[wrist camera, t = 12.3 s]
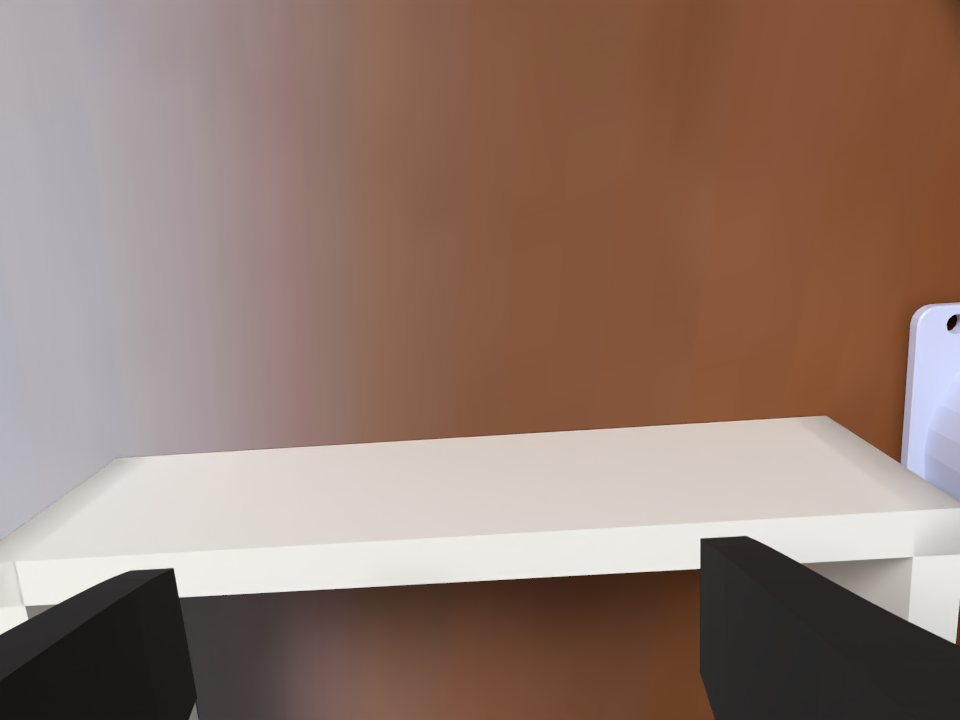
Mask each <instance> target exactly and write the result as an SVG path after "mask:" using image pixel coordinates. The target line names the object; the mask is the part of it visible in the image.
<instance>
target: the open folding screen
mask: <svg viewBox="0 0 960 720" xmlns="http://www.w3.org/2000/svg"><path fill="white" fill-rule="evenodd" d="M735 536H748V537H750V538H752V539H755V540H757V541H759V542H761V543H763V544H765V545H767V546H769V547H771V548H773V549H775V550H777V551H779V552H780V553H782V554H784V555H786V556H788V557H790V558H791V559H793V560H795V561H797V562H799V563H800V564H802V565H804V566H806V567H808V568H809V569H811V570H813V571H815V572H817V573H818V574H820V575H822V576H824V577H826V578H827V579H829V580H831V581H833V582H835V583H836V584H838V585H840V586H842V587H844V588H846V589H847V590H849V591H851V592H853V593H855V594H857V595H859V596H860V597H862V598H864V599H866V600H868V601H870V602H872V603H874V604H875V605H877V606H879V607H881V608H883V609H885V610H887V611H889V612H891V613H893V614H895V615H897V616H899V617H901V618H903V619H905V620H907V621H908V622H911V623H913V624H915V625H917V626H919V627H921V628H923V629H925V630H927V631H929V632H931V633H933V634H935V635H938V636H940V637H942V638H944V639H946V640H948V641H950V642H952V643H954V644H956V635H957V624H958V613H959V602H960V502H959V501H957V500H956V499H954V498H953V497H951V496H950V495H948V494H946V493H945V492H943V491H942V490H940V489H939V488H937V487H936V486H934V485H933V484H931V483H929V482H928V481H926V480H925V479H923V478H922V477H920V476H919V475H917V474H916V473H914V472H912V471H911V470H909V469H908V468H906V467H905V466H903V465H902V464H900V463H899V462H897V461H895V460H894V459H892V458H891V457H889V456H888V455H886V454H885V453H883V452H881V451H880V450H878V449H877V448H875V447H874V446H872V445H871V444H869V443H868V442H866V441H864V440H863V439H861V438H860V437H858V436H857V435H855V434H854V433H852V432H851V431H849V430H847V429H846V428H844V427H843V426H841V425H840V424H838V423H837V422H835V421H834V420H832V419H830V418H829V417H827V416H813V417H796V418H780V419H763V420H746V421H730V422H713V423H696V424H680V425H663V426H647V427H630V428H613V429H597V430H580V431H563V432H547V433H530V434H514V435H497V436H480V437H464V438H447V439H430V440H414V441H397V442H380V443H364V444H347V445H331V446H314V447H297V448H281V449H264V450H247V451H231V452H214V453H198V454H181V455H164V456H148V457H131V458H116V459H115V460H114V461H112V462H111V463H109V464H108V465H106V466H105V467H104V468H102V469H101V470H99V471H98V472H97V473H95V474H94V475H92V476H91V477H89V478H88V479H87V480H85V481H84V482H82V483H81V484H80V485H78V486H77V487H75V488H74V489H73V490H71V491H70V492H68V493H67V494H65V495H64V496H63V497H61V498H60V499H58V500H57V501H56V502H54V503H53V504H51V505H50V506H48V507H47V508H46V509H44V510H43V511H41V512H40V513H39V514H37V515H36V516H34V517H33V518H31V519H30V520H29V521H27V522H26V523H24V524H23V525H22V526H20V527H19V528H17V529H16V530H14V531H13V532H12V533H10V534H9V535H7V536H6V537H5V538H3V539H2V540H0V634H2V633H4V632H6V631H8V630H10V629H12V628H14V627H15V626H17V625H19V624H21V623H23V622H25V621H27V620H29V619H31V618H32V617H34V616H36V615H38V614H40V613H42V612H44V611H46V610H48V609H50V608H51V607H53V606H55V605H57V604H59V603H61V602H63V601H65V600H67V599H69V598H71V597H73V596H75V595H76V594H78V593H80V592H82V591H84V590H86V589H88V588H90V587H93V586H95V585H97V584H99V583H101V582H103V581H105V580H107V579H110V578H112V577H114V576H117V575H120V574H122V573H125V572H128V571H130V570H148V569H166V568H174V572H175V578H176V584H177V589H178V595H179V597H197V596H216V595H234V594H252V593H270V592H288V591H306V590H324V589H343V588H361V587H379V586H397V585H415V584H433V583H451V582H469V581H488V580H506V579H524V578H542V577H560V576H578V575H596V574H614V573H633V572H651V571H669V570H687V569H700V538H717V537H735ZM189 720H198V714H197V709H196V703H195V704H194V707H193V710H192V713H191V715H190V718H189Z"/></svg>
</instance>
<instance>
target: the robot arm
mask: <svg viewBox="0 0 960 720" xmlns="http://www.w3.org/2000/svg"><path fill="white" fill-rule="evenodd" d="M952 315H956V316H957V320H958V321H957V324H956V326H955V327H954V328H953V329H952V330H949V331H948V330H947V322H948V319H949V318H950V317H951V316H952ZM901 464H902V465H903V466H905V467H906V468H908V469H909V470H911V471H912V472H914V473H916V474H917V475H919V476H920V477H922V478H923V479H925V480H926V481H928V482H929V483H931V484H933V485H934V486H936V487H937V488H939V489H940V490H942V491H943V492H945V493H946V494H948V495H950V496H951V497H953V498H954V499H956V500H957V501H959V502H960V302H959V303H943V304H930V305H926V306H923V307H921V308H920V309H918V310H917V311H916V313H915V314H914V315H913V317H912V320H911V324H910V337H909V351H908V366H907V380H906V395H905V409H904V424H903V438H902V453H901ZM700 673H701V676H702V680H703V683H704V686H705V689H706V692H707V695H708V699H709V702H710V705H711V708H712V711H713V714H714V717H715V720H960V646H958V645H956V644H954V643H952V642H950V641H948V640H946V639H944V638H942V637H940V636H938V635H935V634H933V633H931V632H929V631H927V630H925V629H923V628H921V627H919V626H917V625H915V624H913V623H911V622H908V621H907V620H905V619H903V618H901V617H899V616H897V615H895V614H893V613H891V612H889V611H887V610H885V609H883V608H881V607H879V606H877V605H875V604H874V603H872V602H870V601H868V600H866V599H864V598H862V597H860V596H859V595H857V594H855V593H853V592H851V591H849V590H847V589H846V588H844V587H842V586H840V585H838V584H836V583H835V582H833V581H831V580H829V579H827V578H826V577H824V576H822V575H820V574H818V573H817V572H815V571H813V570H811V569H809V568H808V567H806V566H804V565H802V564H800V563H799V562H797V561H795V560H793V559H791V558H790V557H788V556H786V555H784V554H782V553H780V552H779V551H777V550H775V549H773V548H771V547H769V546H767V545H765V544H763V543H761V542H759V541H757V540H755V539H752V538H750V537H748V536H735V537H717V538H700ZM196 699H197V696H196V690H195V684H194V679H193V673H192V668H191V662H190V656H189V651H188V645H187V640H186V634H185V628H184V623H183V617H182V612H181V606H180V600H179V595H178V589H177V584H176V578H175V572H174V568H166V569H148V570H130V571H128V572H125V573H122V574H120V575H117V576H114V577H112V578H110V579H107V580H105V581H103V582H101V583H99V584H97V585H95V586H93V587H90V588H88V589H86V590H84V591H82V592H80V593H78V594H76V595H75V596H73V597H71V598H69V599H67V600H65V601H63V602H61V603H59V604H57V605H55V606H53V607H51V608H50V609H48V610H46V611H44V612H42V613H40V614H38V615H36V616H34V617H32V618H31V619H29V620H27V621H25V622H23V623H21V624H19V625H17V626H15V627H14V628H12V629H10V630H8V631H6V632H4V633H2V634H0V720H189V718H190V715H191V713H192V710H193V707H194V704H195V702H196Z"/></svg>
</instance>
